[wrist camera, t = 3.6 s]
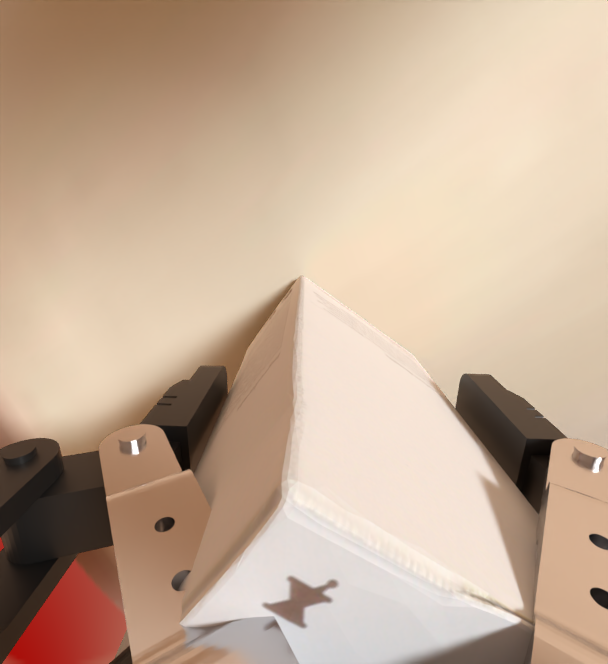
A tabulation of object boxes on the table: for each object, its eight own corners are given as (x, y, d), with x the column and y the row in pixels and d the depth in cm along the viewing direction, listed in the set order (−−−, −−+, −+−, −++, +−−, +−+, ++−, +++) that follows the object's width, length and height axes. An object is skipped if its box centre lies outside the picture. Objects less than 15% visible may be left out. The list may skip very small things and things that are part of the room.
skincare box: (243, 352, 16) (44, 739, 4) (304, 266, 15) (258, 475, 3) (359, 427, 17) (453, 911, 5) (425, 352, 15) (742, 763, 4)
